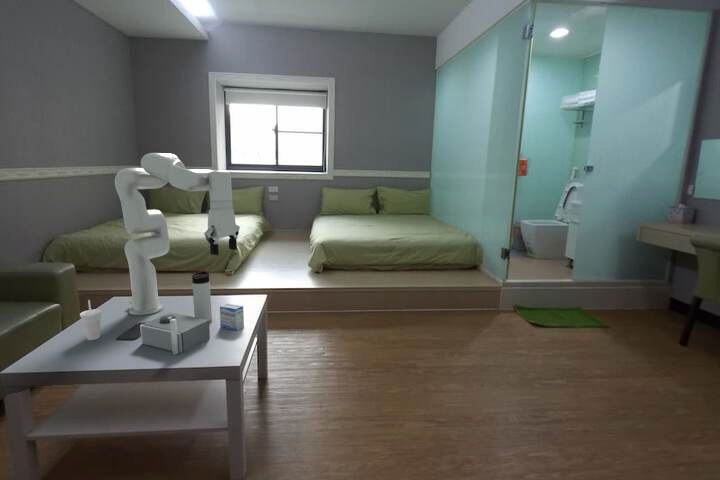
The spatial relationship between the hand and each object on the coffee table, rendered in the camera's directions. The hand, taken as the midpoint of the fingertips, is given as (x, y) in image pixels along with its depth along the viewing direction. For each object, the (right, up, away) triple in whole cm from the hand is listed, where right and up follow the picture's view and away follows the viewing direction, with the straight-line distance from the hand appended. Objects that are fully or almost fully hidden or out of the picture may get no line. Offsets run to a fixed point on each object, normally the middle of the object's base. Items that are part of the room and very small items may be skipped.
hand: (224, 252), depth 143 cm
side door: (-18, -32, -11) cm, 39 cm away
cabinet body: (-15, -31, -4) cm, 35 cm away
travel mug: (-13, -28, +13) cm, 34 cm away
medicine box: (0, -30, +8) cm, 31 cm away
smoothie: (-46, -31, -3) cm, 55 cm away
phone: (-34, -30, +3) cm, 45 cm away
